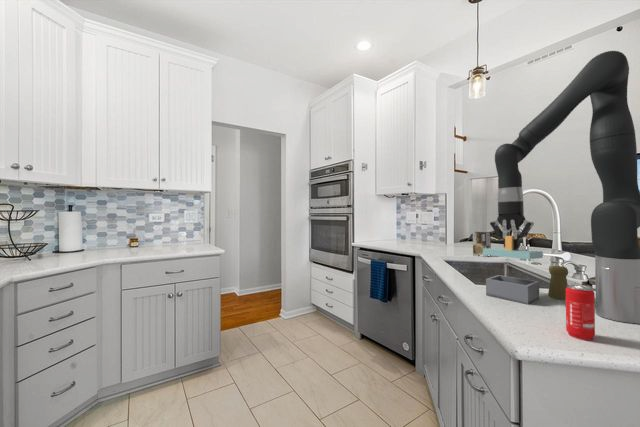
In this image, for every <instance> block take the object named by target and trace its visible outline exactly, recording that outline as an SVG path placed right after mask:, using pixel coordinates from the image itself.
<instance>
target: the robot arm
mask: <svg viewBox="0 0 640 427" xmlns="http://www.w3.org/2000/svg"><path fill="white" fill-rule="evenodd" d="M629 75H630V65H629V61H628V58H627V56H626V55H625V53H623V52H621V51H619V50H608V51H604V52H602V53H599V54H597V55H595V56H593V58H591V59H590V60H589V61H588V62H587V63H586V65H585V66H584V67H582V69H581V70H580V71H579V72H578V74H577V75H576V76H575V77H574V79H572V80H571V82H570V83H569V84H568V85H567V86H566V87H565V88H564V89H563V90H562V91H561V92H560V93H559V94H558V95H557V96H556V98H554V100H553V101H552V102H550V104H548V105H547V107H545V108H544V109H543V110H542V111H541V112H540V113H538V115H536V117H534V118H533V119H532V120H531V121H530V122H529V123H528V124H526V125H525V126H524V127H523V128H522V129H521V130H520V131H519V133H518V137H516V139H514V141H513V142H512V143H503V144H501V145H500V146H498V147H497V149H496V150H495V153H494V163H495V168H496V169H495V170H496V173H497V176H498V177H497V183H498V184H497V187H498V190H497V218H496V219H495V220H493V221H491V222H490V223H489V225H490V226H491V228H492V229H493V231H494V233H495V234H496V236H497V237H499V238H502V239H503V248H505V236H510V232H511V233H512V236H513V238H514V239H513V245H514V250H518V248H519V249H520V248H521V245H520V244H521V241H520V240H521V239H522V238H527V235H528V234H529V232H530V230H531V229H532V228H533V227H534V224H535V223H534V222H533V221H529V220H526V217H525V215H524V212H525V210H524V192H523V179H522V177H523V176H522V174H521V172H520V169H519V163H520V162H522V161H523V160H524V159H525V158H526V157H527V156H528V155H529V154H530V153H531V152H532V150H534V149H535V147H536V146H537V145H539V144H540V143H541V142H542V141H543V140H545V139H546V138H547V137H548V136H550V135H551V134H552V133H553V132H555V130H556V129H557V128H558V127H559V126H560V125H561V124H562V123H564V121H565V120H566V119H567V118H568V117H569V115H570V114H571V113H572V112H573V110H575V109H576V108H577V107H578V106H579V105H580V104H581V103H582V102H583V101H585V99H586V98H588V97H590V103H591V109H592V111H591V112H592V114H591V115H592V116H591V122H590V127H589V149H590V150H589V151H590V158H591V162H592V165H593V167H594V169H595V171H596V172H595V173H596V174H597V176H598V178H599V180H600V184H601V187H602V202H601V203H599V204H598V205H596V206H595V207H594V208H593V210H592V212H591V215H590V229H591V230H590V231H591V243H592V247H593V248H594V254H595V255H594V257H595V260H594V261H595V262H594V263H595V264H594V265H595V267H594V268H595V271H594V272H595V274H594V276H595V279H594V280H595V315H597V316H599V317H602V318H604V319H608V320H612V321H616V322H622V323H632V324H637V325H640V244H639V237H638V229H639V228H640V189H639V183H638V152H637V139H636V130H635V125H634V121H633V117H632V114H631V111H630V107H629V102H628V86H629V85H628V83H629ZM522 225H523V229H522V230H521V229H520V228H521V226H522ZM500 226H501V227H502V229H501V228H500Z"/></svg>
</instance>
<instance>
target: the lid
mask: <svg viewBox="0 0 640 427" xmlns="http://www.w3.org/2000/svg"><path fill="white" fill-rule="evenodd" d="M513 239H514V238H513V235H509V236H505V247H504V248H501V247H498V248H497V247H494V248H493V247H491V248H487V249H483V255H491V256H492V257H493V256H494V257H502V258H503V257H505V258H512V259H523V260H535V259H543V251H542V250H541V251H539V250H527V249H526V250H525V249H520V247H519V248H518V250H514V245H513ZM491 256H490V257H491Z"/></svg>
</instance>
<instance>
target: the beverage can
mask: <svg viewBox="0 0 640 427" xmlns="http://www.w3.org/2000/svg"><path fill="white" fill-rule="evenodd" d="M595 316H596V295H595V291H594V289H593V288H592V287H590V286H587V285H578V284H568V285H567V288H566V300H565V328H566V329H565V330H566V331H567V334H568V335H569V336H570V337H572V338H574V339H577V340H580V341H581V340H582V341H592V340H593V339H594V337H595V336H596V322H595V321H596V319H595V318H596V317H595Z"/></svg>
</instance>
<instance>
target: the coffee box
mask: <svg viewBox="0 0 640 427" xmlns="http://www.w3.org/2000/svg"><path fill="white" fill-rule="evenodd" d="M491 236H492V235H491V231H473V232H472V253H473V254H472V256H474V255H483V249H487V248H492V245H491V244H492V243H491V242H492V241H491ZM484 256H488V255H483V256H482V257H484ZM488 257H489V256H488Z"/></svg>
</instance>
